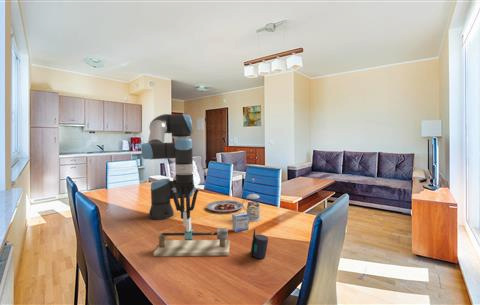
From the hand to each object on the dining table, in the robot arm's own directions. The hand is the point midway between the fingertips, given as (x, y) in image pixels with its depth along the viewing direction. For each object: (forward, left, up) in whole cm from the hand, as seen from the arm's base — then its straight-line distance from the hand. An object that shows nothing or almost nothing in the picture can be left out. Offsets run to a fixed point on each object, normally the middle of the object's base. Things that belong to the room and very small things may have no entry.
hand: (185, 225), depth 107 cm
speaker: (+32, -6, -11) cm, 35 cm away
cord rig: (+3, 0, -11) cm, 11 cm away
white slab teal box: (+1, 0, -6) cm, 6 cm away
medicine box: (+24, +22, -11) cm, 35 cm away
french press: (+31, +39, -11) cm, 51 cm away
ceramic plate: (+13, +61, -12) cm, 64 cm away
